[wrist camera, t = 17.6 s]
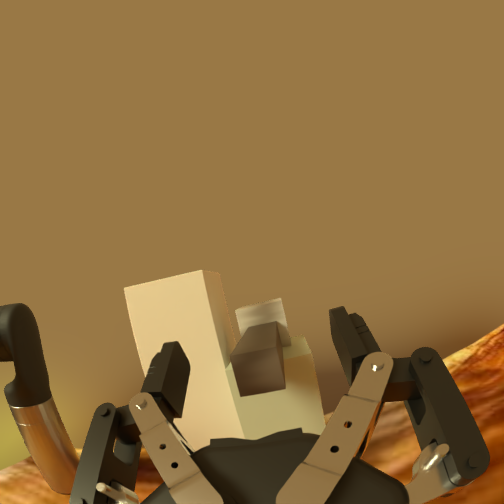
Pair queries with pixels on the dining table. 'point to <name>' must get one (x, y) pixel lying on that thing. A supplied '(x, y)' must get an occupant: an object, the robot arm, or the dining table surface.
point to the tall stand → (190, 347)
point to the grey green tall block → (283, 398)
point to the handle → (260, 348)
